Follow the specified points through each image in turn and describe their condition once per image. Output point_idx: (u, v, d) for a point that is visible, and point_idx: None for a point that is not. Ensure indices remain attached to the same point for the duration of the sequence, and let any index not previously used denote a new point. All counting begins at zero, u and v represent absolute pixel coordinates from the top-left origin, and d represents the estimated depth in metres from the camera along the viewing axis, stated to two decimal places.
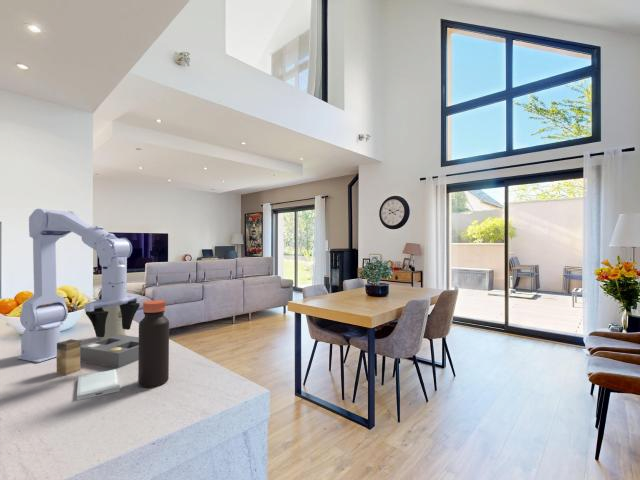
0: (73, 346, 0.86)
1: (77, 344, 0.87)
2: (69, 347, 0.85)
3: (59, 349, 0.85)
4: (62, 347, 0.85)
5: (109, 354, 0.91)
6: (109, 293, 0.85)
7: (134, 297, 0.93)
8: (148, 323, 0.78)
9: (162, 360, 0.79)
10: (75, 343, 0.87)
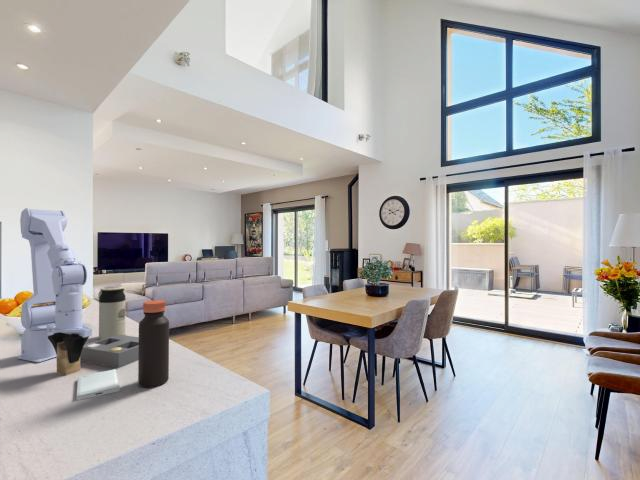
0: None
1: None
2: None
3: (59, 349, 0.85)
4: (62, 347, 0.85)
5: (109, 354, 0.91)
6: None
7: (77, 331, 0.84)
8: (148, 323, 0.78)
9: (162, 360, 0.79)
10: None
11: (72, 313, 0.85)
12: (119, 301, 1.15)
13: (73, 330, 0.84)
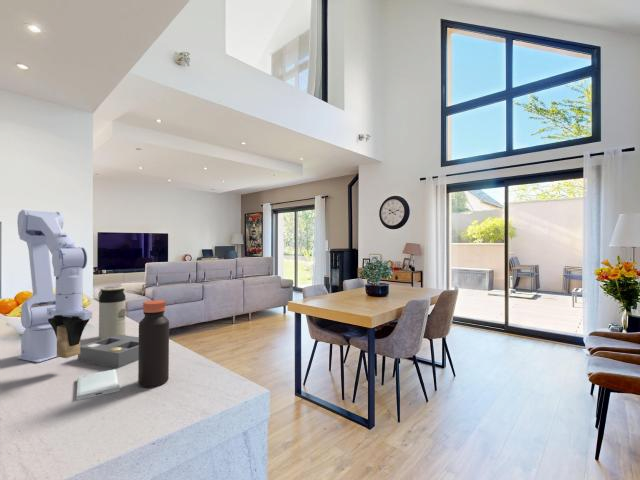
0: None
1: None
2: None
3: (59, 332, 0.85)
4: (62, 330, 0.85)
5: (109, 354, 0.91)
6: None
7: (77, 313, 0.84)
8: (148, 323, 0.78)
9: (162, 360, 0.79)
10: None
11: (72, 296, 0.85)
12: (119, 301, 1.15)
13: (73, 313, 0.84)
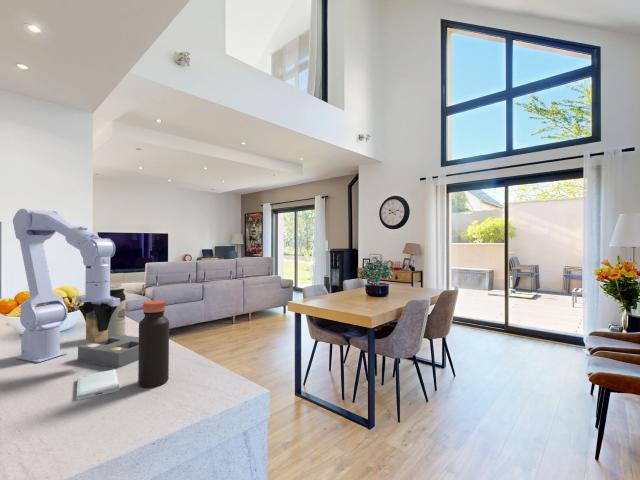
0: None
1: None
2: None
3: (88, 319, 0.90)
4: (91, 317, 0.89)
5: (109, 354, 0.91)
6: None
7: (106, 300, 0.88)
8: (148, 323, 0.78)
9: (162, 360, 0.79)
10: None
11: (101, 284, 0.89)
12: None
13: (102, 300, 0.88)
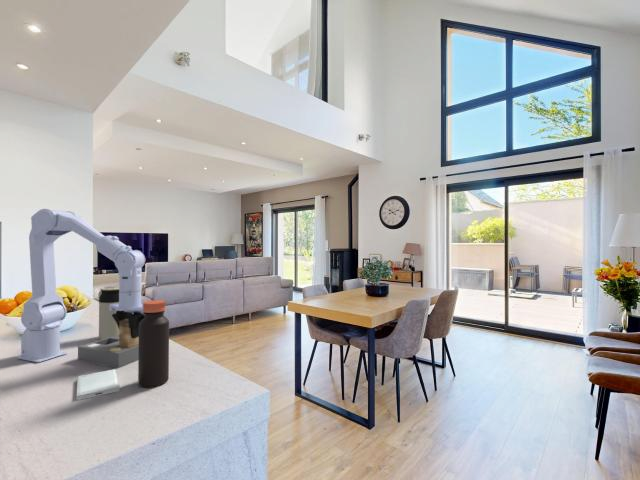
0: None
1: None
2: None
3: (121, 326, 0.95)
4: (124, 325, 0.95)
5: (109, 354, 0.91)
6: None
7: (139, 309, 0.94)
8: (148, 323, 0.78)
9: (162, 360, 0.79)
10: None
11: (134, 293, 0.95)
12: None
13: (136, 308, 0.94)
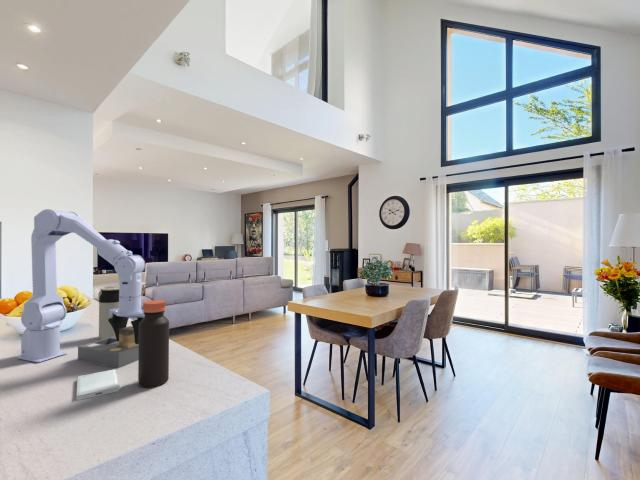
0: (133, 332, 0.96)
1: None
2: (130, 333, 0.95)
3: (121, 334, 0.95)
4: (124, 333, 0.95)
5: (109, 354, 0.91)
6: None
7: (139, 314, 0.94)
8: (148, 323, 0.78)
9: (162, 360, 0.79)
10: None
11: (134, 299, 0.95)
12: None
13: (136, 314, 0.94)
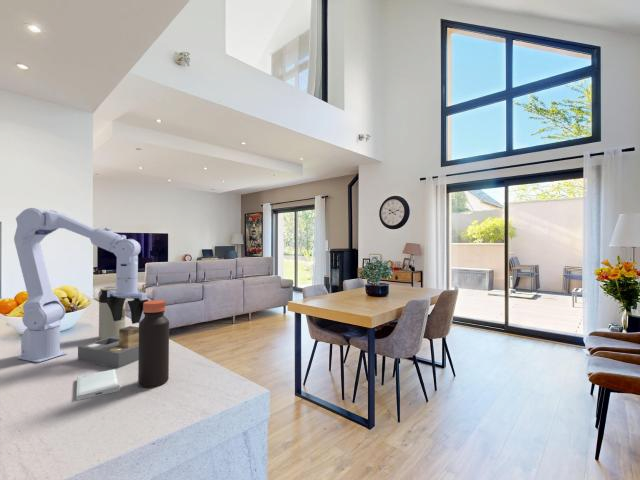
0: (133, 332, 0.96)
1: (136, 330, 0.97)
2: (130, 333, 0.95)
3: (121, 334, 0.95)
4: (124, 333, 0.95)
5: (109, 354, 0.91)
6: None
7: (135, 295, 0.98)
8: (148, 323, 0.78)
9: (162, 360, 0.79)
10: (135, 329, 0.96)
11: (130, 280, 0.99)
12: None
13: (132, 294, 0.98)
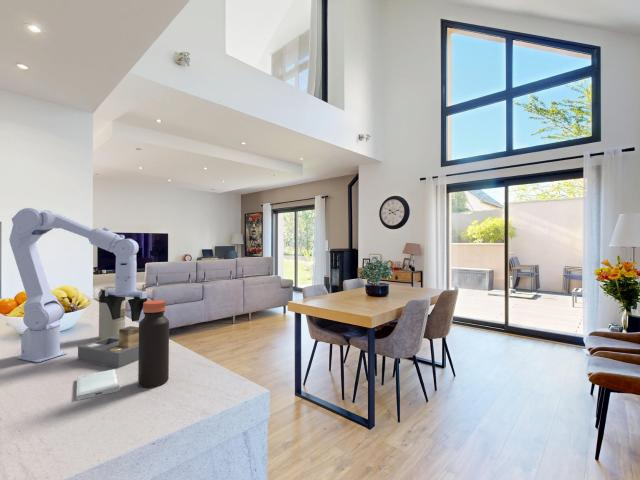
0: (133, 332, 0.96)
1: (136, 330, 0.97)
2: (130, 333, 0.95)
3: (121, 334, 0.95)
4: (124, 333, 0.95)
5: (109, 354, 0.91)
6: None
7: (135, 293, 1.00)
8: (148, 323, 0.78)
9: (162, 360, 0.79)
10: (135, 329, 0.96)
11: (130, 279, 1.01)
12: None
13: (132, 293, 1.00)
